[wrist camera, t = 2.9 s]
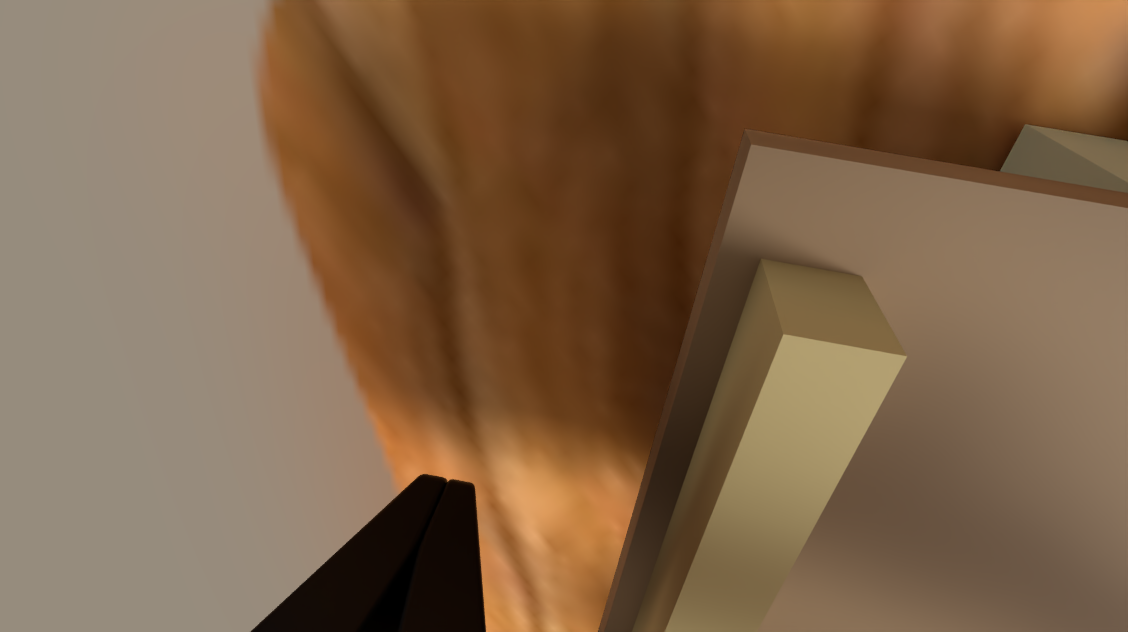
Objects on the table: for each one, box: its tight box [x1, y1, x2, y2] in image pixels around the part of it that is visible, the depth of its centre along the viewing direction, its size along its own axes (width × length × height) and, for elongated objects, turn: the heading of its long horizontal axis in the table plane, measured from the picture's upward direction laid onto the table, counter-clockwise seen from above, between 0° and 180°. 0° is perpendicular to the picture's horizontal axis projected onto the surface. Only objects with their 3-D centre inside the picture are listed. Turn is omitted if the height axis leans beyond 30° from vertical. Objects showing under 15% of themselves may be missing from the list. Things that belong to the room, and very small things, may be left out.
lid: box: [598, 129, 1128, 632], centre depth 9 cm, size 12×9×2 cm
